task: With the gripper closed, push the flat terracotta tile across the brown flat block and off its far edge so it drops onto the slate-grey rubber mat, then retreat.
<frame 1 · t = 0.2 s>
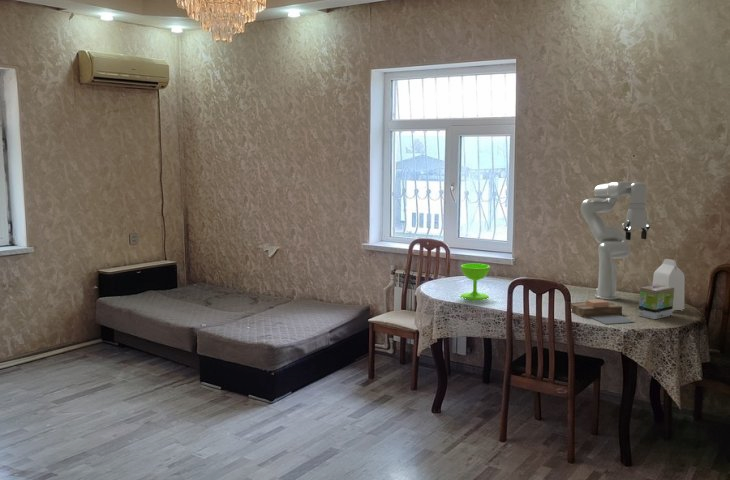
hand: (635, 239, 348), 36 cm above the table, tool pointing down, fingers open, 9 cm apart
milk: (666, 308, 351), on the table
tile: (597, 303, 340), point 5 cm above the table, touching brown flat block
mat: (611, 319, 328), on the table
tea box: (655, 316, 336), on the table
brown flat block: (594, 312, 343), on the table
wineglass: (474, 297, 377), on the table
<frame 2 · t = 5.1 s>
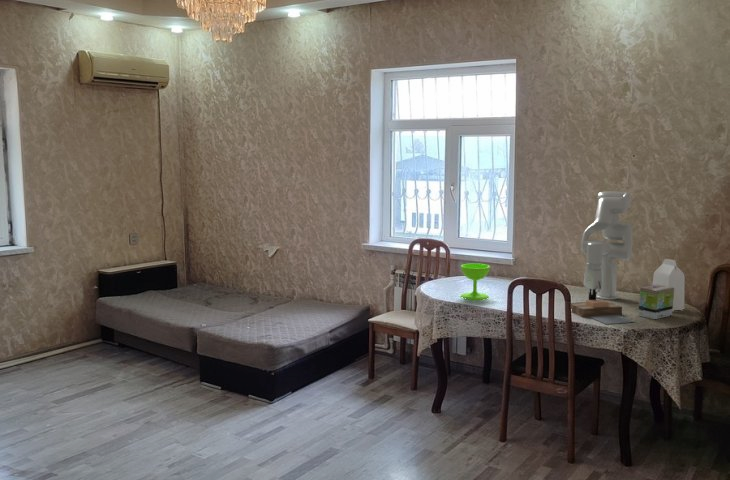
hand: (592, 301, 344), 5 cm above the table, tool pointing down, fingers closed
tile: (597, 303, 340), point 5 cm above the table, touching gripper
everything else where it was.
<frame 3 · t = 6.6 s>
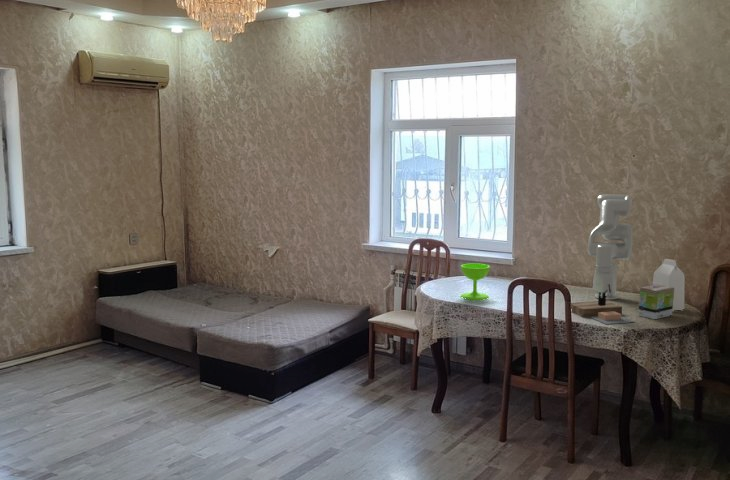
hand: (601, 305, 336), 5 cm above the table, tool pointing down, fingers closed
tile: (609, 315, 329), point 2 cm above the table, tilted 180°, touching mat
everything else where it was.
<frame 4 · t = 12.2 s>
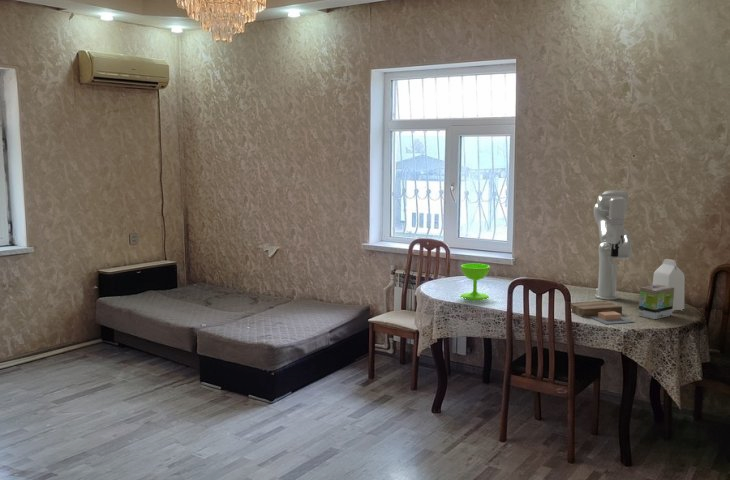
hand: (614, 256, 351), 27 cm above the table, tool pointing down, fingers closed
nothing on the table moved.
at the end: tile inside the target area on the mat (1.7 cm from its centre), point 1.6 cm above the mat's base; tile point 1.6 cm above the table; tile touching mat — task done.
